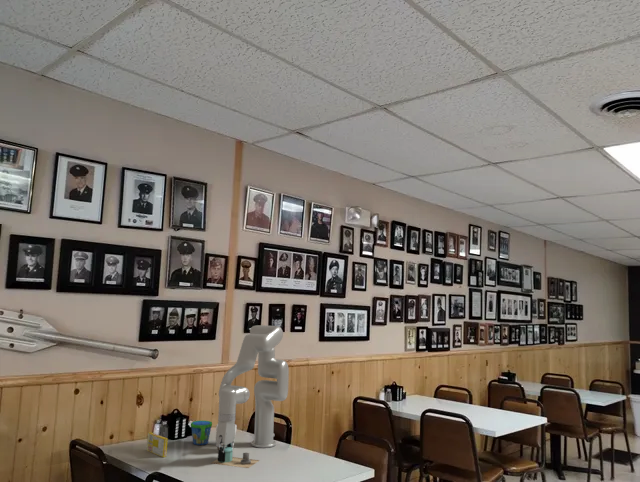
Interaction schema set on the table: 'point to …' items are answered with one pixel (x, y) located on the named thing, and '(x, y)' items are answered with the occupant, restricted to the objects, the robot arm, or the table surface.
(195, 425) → the snack cup
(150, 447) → the candy box
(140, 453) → the table surface
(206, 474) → the table surface
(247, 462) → the board
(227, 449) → the cap
